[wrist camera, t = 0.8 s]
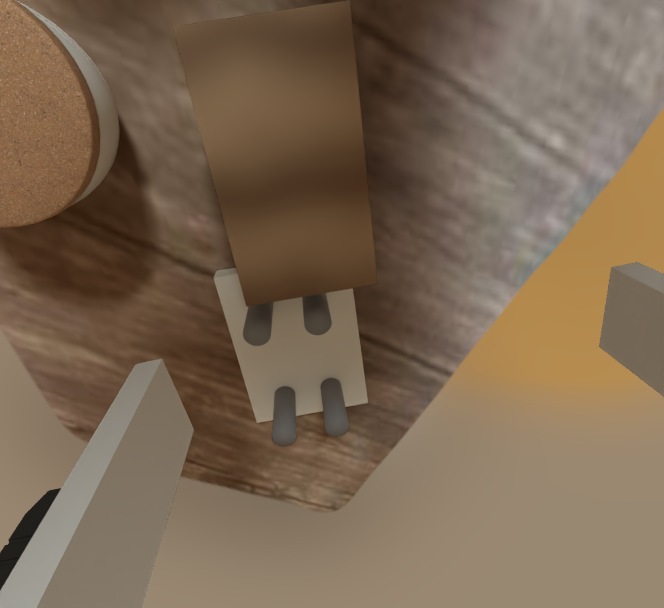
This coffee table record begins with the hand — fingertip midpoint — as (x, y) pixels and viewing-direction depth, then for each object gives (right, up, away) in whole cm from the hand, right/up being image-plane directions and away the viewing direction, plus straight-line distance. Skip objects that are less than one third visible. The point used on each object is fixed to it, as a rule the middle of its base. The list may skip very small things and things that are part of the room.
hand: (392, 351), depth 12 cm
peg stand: (-5, -1, +22) cm, 22 cm away
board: (-4, +9, +11) cm, 15 cm away
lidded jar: (-19, +13, +13) cm, 27 cm away
